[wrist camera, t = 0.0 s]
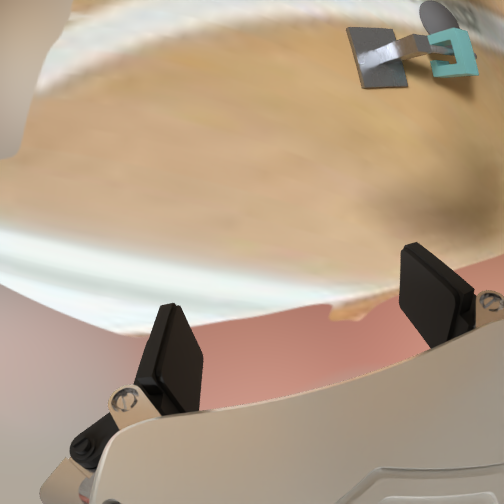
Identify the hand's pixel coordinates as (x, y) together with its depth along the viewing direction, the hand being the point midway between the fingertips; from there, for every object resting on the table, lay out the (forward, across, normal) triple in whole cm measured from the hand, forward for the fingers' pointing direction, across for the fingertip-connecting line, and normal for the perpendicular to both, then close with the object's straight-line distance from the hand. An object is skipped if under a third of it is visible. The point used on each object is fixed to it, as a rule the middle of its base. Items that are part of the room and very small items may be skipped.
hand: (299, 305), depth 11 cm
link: (+28, -33, -15) cm, 46 cm away
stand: (+31, -28, -15) cm, 45 cm away
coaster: (+31, -40, -23) cm, 56 cm away
